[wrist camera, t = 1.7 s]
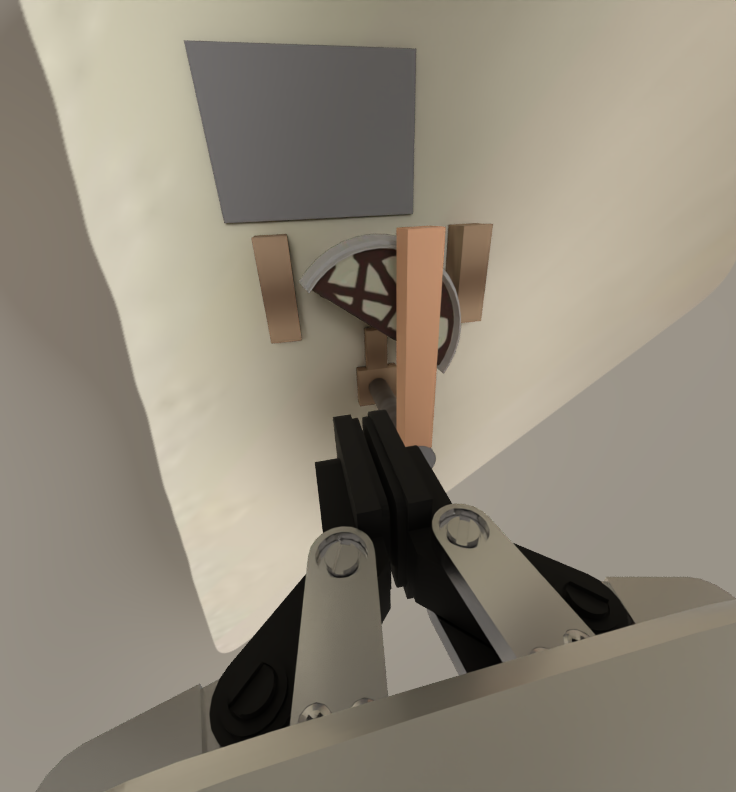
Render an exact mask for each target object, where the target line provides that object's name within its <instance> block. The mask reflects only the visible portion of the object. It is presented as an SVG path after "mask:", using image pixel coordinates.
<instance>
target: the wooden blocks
mask: <svg viewBox="0 0 736 792" xmlns="http://www.w3.org/2000/svg"><path fill="white" fill-rule="evenodd" d="M492 228H493V224H479V223H471V224H454V225H449V228H448V243H447V258H446V273H447V274H448V275H449V277H450V279H451V281H452V283H453V285H454V287H455V289H456V292H457V296H458V299H459V305H460V312H461V323H465V322H474V321H481V316H482V308H483V300H484V292H485V284H486V276H487V268H488V260H489V252H490V244H491V236H492ZM252 244H253V249H254V254H255V259H256V265H257V270H258V275H259V280H260V286H261V291H262V296H263V301H264V307H265V312H266V317H267V322H268V328H269V333H270V338H271V343H281V342H290V341H299V340H302V339H301V331H300V323H299V316H298V309H297V302H296V296H295V289H294V282H293V275H292V268H291V261H290V254H289V247H288V240H287V234H277V235H259V236H254V237H252ZM364 336H365V357H366V366H365V367H357V368H356V370H357V386H358V402H359V404H360V406H366V405H373V404H376V406H377V408H378V410H384V409H385V410H386V411H387V413H388V415H389V416H390V418H391V420H392V422H393V424H394V426H395V428H396V430H397V366H396V364H395V363H389V364H387V335H385V334H383V333H382V332H380V331H378V330H377V329H375V328H374V327H372V328H364Z"/></svg>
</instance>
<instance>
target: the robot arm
mask: <svg viewBox="0 0 736 792" xmlns="http://www.w3.org/2000/svg"><path fill="white" fill-rule="evenodd" d="M333 422H334V432H335V441H336V450H337V459H331V460H325V461H319V462H315V468H316V477H317V485H318V494H319V503H320V511H321V520H322V529H323V534H321V535H320V536H319V537H318V538H317V539H316V540H315V541H314V543H313V544H312V546H311V548H310V551H309V555H308V562H307V571H306V575H305V576H304V577H303V578H302V579H301V581H300V582H299V583H298V584H297V585H296V586H295V588H294V589H293V590H292V591H291V592H290V594H289V595H288V596H287V597H286V598H285V600H284V601H283V602H282V603H281V604H280V605H279V607H278V608H277V609H276V610H275V611H274V613H273V614H272V615H271V616H270V617H269V619H268V620H267V621H266V622H265V623H264V624H263V626H262V627H261V628H260V629H259V630H258V632H257V633H256V634H255V635H254V636H253V638H252V639H251V640H250V641H249V642H248V644H247V645H246V646H245V647H244V648H243V649H242V651H241V652H240V653H239V654H238V655H237V657H236V658H235V659H234V660H233V661H232V662H231V664H230V665H229V666H228V667H227V669H226V671H225V672H224V673H223V675H222V676H221V678H220V679H219V680H217V681H215V682H213V683H211V684H209V685H207V686H205V687H203V688H202V686H201V684H198V685H196V686H194V687H192V688H190V689H189V690H186V691H184V692H182V693H181V694H179V695H177V696H175V697H173V698H171V699H169V700H167V701H165V702H163V703H161V704H159V705H157V706H155V707H153V708H151V709H150V710H148V711H146V712H144V713H142V714H140V715H138V716H136V717H134V718H132V719H130V720H128V721H126V722H125V723H123V724H120V725H119V726H117V727H115V728H113V729H111V730H109V731H107V732H105V733H103V734H101V735H99V736H97V737H95V738H94V739H91V740H90V741H88V742H86V743H84V744H82V745H81V746H79V747H78V748H76V749H75V750H73V751H72V752H70V753H69V754H68V755H66V756H65V757H64V758H63V759H62V760H61V761H60V762H59V763H58V764H57V765H56V766H55V767H54V768H53V769H52V770H51V771H50V772H49V773H48V775H47V776H46V777H45V778H44V780H43V781H42V783H41V784H40V786H39V788H38V789H37V790H36V792H736V598H734V597H733V596H732V595H731V594H729V593H728V592H726V591H725V590H723V589H722V588H720V587H718V586H717V585H715V584H712V583H710V582H707V581H705V580H702V579H698V578H692V577H606V578H605V580H604V581H599V580H598V579H596V578H594V577H592V576H590V575H588V574H586V573H584V572H582V571H579V570H577V569H574V568H572V567H570V566H567V565H564V564H562V563H560V562H558V561H555V560H553V559H550V558H548V557H546V556H543V555H541V554H538V553H536V552H534V551H531V550H529V549H526V548H524V547H522V546H519V545H517V544H515V543H512V542H511V540H510V539H509V538H508V537H507V536H506V535H505V534H504V533H503V532H502V531H501V529H500V528H499V527H498V526H497V525H496V524H495V523H494V522H493V521H492V519H491V518H490V517H489V516H488V515H486V514H485V513H484V512H483V511H481V510H479V509H478V508H476V507H474V506H470V505H466V504H452V503H451V501H450V499H449V498H448V496H447V494H446V492H445V491H444V489H443V487H442V486H441V484H440V482H439V480H438V479H437V477H436V475H435V474H434V472H433V470H432V468H431V467H430V465H429V463H428V462H427V460H426V458H425V456H424V455H423V453H422V451H421V450H420V448H419V447H418V446H417V445H414V446H408V447H405V445H404V443H403V441H402V439H401V437H400V435H399V434H398V432H397V430H396V428H395V426H394V424H393V422H392V420H391V418H390V416H389V415H388V413H387V411H386V410H385V409H384V410H377V411H371V412H368V417H363V418H362V424H363V431H362V428H361V425H360V423H359V420H358V418H354V419H352V417H351V415H344V416H337V417H333ZM391 571H392V575H393V578H394V581H395V585H396V587H398V588H399V587H404V590H405V593H406V597H407V599H410V598H414V599H415V602H416V603H418V604H420V605H422V606H423V607H425V608H427V612H428V615H429V618H430V620H431V622H432V624H433V626H434V628H435V630H436V632H437V634H438V636H439V638H440V640H441V641H442V643H443V645H444V647H445V649H446V651H447V653H448V655H449V657H450V659H451V661H452V663H453V664H454V667H455V669H456V671H457V672H458V674H459V676H456V677H453V678H449V679H446V680H443V681H439V682H436V683H432V684H429V685H426V686H423V687H419V688H416V689H412V690H409V691H406V692H402V693H399V694H395V695H392V696H389V697H388V690H387V679H386V669H385V657H384V646H383V636H382V623H383V621H384V619H385V617H386V615H387V614H388V612H389V610H390V608H391V607H390V606H391V604H390V589H391Z"/></svg>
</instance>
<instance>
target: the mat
mask: <svg viewBox="0 0 736 792" xmlns="http://www.w3.org/2000/svg"><path fill="white" fill-rule="evenodd" d="M184 43H185V47H186V52H187V56H188V61H189V65H190V70H191V74H192V79H193V83H194V88H195V93H196V97H197V102H198V106H199V111H200V115H201V120H202V124H203V129H204V133H205V138H206V142H207V147H208V151H209V156H210V160H211V165H212V169H213V174H214V178H215V183H216V187H217V192H218V196H219V201H220V205H221V210H222V214H223V219H224V223H237V222H257V221H277V220H297V219H317V218H337V217H357V216H377V215H397V214H413V181H414V133H415V85H416V49H412V48H384V47H355V46H327V45H298V44H270V43H241V42H213V41H185V40H184Z"/></svg>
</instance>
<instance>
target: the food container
mask: <svg viewBox="0 0 736 792" xmlns="http://www.w3.org/2000/svg"><path fill="white" fill-rule="evenodd" d="M299 283H300V284H301V285H302V287H303V288H304V289H306V290H307V291H308V293H310V292H311V290H313V291H314V292H316V293H317V294H319V295H320V296H321V297H323V298H326V299H328V300H329V301H331V302H333V303H335V304H336V305H338V306H339V307H341V308H343V309H344V310H346V311H348V312H349V313H351V314H352V315H354V316H356V317H357V318H359V319H361V320H362V321H364V322H366V323H367V324H369V325H370V326H372V327H374V328H375V329H377V330H378V331H380V332H382V333H383V334H385V335H387V336H388V337H390V338H392V339H394V340H395V341H397V236H393V235H388V234H369V235H363V236H357V237H354V238H351V239H348V240H346V241H343V242H341V243H339V244H337V245H335V246H334V247H332V248H330V249H329V250H327V251H326V252H325V253H323V254H322V255H321V256H320V257H318V258H317V259H316V260H315V261H314V263H313V264H312V265H311V266H310V267H309V268H308V269H307V270H306V272H305V273H304V275H303V276H302V278H301V279H300V281H299ZM460 331H461V312H460V305H459V299H458V296H457V292H456V289H455V287H454V285H453V283H452V281H451V279H450V277H449V275H448V274H447V273H446V271H445V270H444V268H443V276H442V291H441V307H440V323H439V338H438V354H437V368H438V369H439V370H440V371H441V372H442V373H444V372H445V371H446V369H447V368H448V366H449V365H450V363H451V361H452V359H453V356H454V354H455V352H456V349H457V346H458V342H459V337H460Z"/></svg>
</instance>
